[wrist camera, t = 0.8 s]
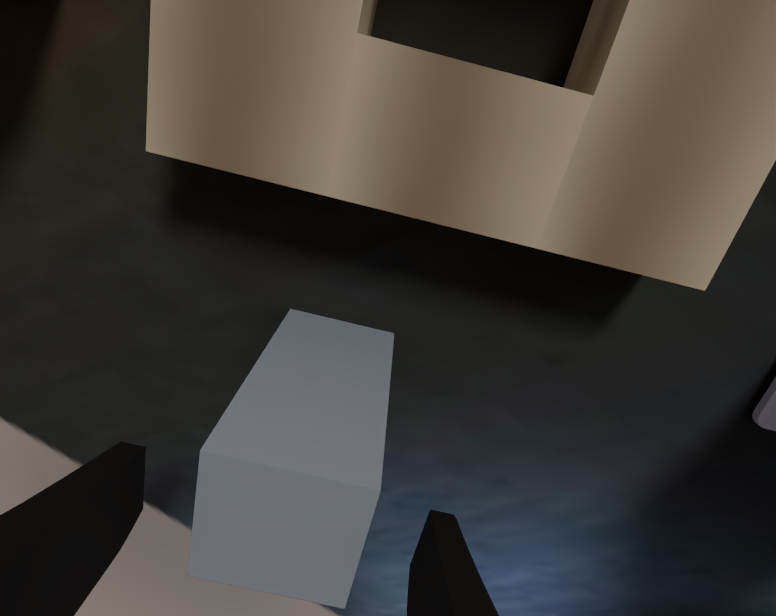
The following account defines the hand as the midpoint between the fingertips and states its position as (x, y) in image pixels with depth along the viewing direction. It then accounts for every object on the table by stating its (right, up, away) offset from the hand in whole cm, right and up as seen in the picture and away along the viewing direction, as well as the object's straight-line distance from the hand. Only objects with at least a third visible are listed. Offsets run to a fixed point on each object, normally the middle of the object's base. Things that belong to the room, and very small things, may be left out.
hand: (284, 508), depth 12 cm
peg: (0, +3, +7) cm, 7 cm away
